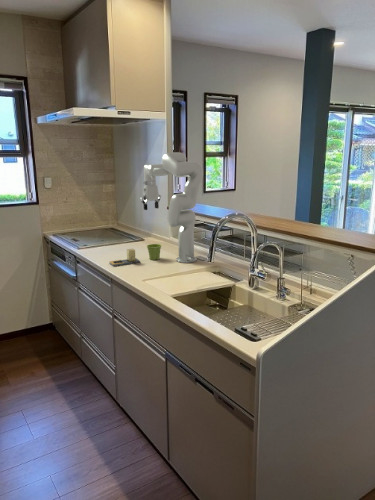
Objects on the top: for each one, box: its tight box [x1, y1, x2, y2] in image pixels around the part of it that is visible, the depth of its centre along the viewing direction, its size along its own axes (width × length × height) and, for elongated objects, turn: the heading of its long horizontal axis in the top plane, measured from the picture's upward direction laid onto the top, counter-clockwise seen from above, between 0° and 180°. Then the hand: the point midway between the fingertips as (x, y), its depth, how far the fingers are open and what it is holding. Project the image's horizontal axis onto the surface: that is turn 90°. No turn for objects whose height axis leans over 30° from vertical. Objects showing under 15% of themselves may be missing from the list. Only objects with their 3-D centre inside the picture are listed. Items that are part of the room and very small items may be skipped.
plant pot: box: [146, 243, 162, 261], centre depth 253 cm, size 9×9×9 cm
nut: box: [126, 248, 137, 262], centre depth 246 cm, size 4×4×8 cm
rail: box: [109, 257, 141, 267], centre depth 245 cm, size 17×7×1 cm, turn 117°
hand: (151, 209), depth 272 cm, fingers open, 9 cm apart
